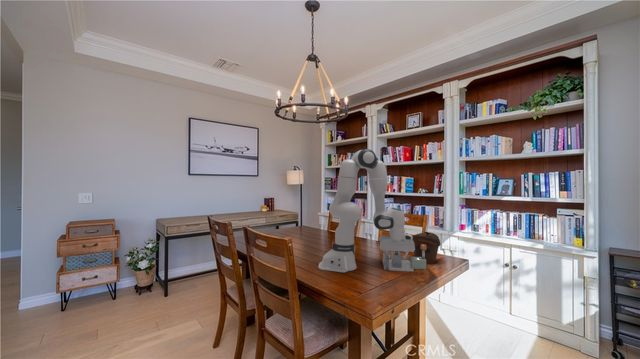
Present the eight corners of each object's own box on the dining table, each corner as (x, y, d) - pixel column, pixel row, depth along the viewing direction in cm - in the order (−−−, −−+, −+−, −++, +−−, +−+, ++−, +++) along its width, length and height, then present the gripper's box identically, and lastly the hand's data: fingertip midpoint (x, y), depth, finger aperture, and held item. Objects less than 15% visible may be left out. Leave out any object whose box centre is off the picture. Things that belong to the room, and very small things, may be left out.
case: (432, 255, 183) (432, 229, 182) (446, 265, 163) (445, 235, 162) (406, 255, 183) (406, 229, 183) (416, 265, 163) (416, 236, 163)
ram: (413, 262, 158) (413, 244, 158) (412, 260, 161) (412, 243, 161) (426, 262, 157) (427, 245, 157) (425, 261, 160) (425, 244, 160)
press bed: (384, 269, 154) (384, 259, 154) (382, 261, 170) (382, 251, 170) (413, 271, 152) (413, 260, 152) (408, 262, 168) (408, 253, 168)
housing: (392, 265, 158) (393, 252, 158) (391, 261, 166) (391, 249, 166) (401, 265, 157) (401, 253, 157) (399, 261, 165) (400, 249, 165)
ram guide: (411, 268, 157) (411, 259, 157) (410, 265, 163) (410, 256, 163) (426, 269, 156) (426, 260, 155) (424, 265, 161) (424, 257, 161)
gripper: (379, 235, 159) (379, 259, 160) (415, 237, 156) (415, 260, 156) (378, 233, 166) (378, 256, 166) (413, 234, 162) (413, 257, 163)
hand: (396, 258), depth 161 cm, fingers open, 8 cm apart
